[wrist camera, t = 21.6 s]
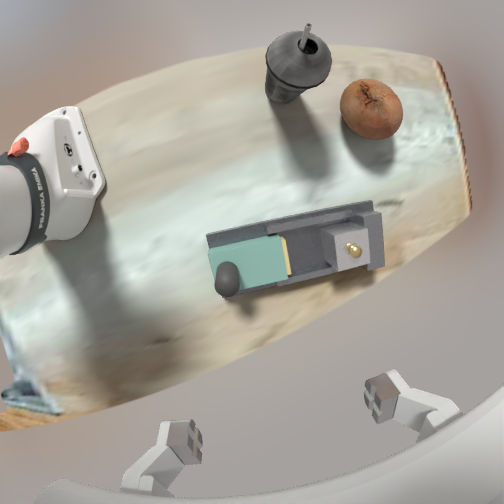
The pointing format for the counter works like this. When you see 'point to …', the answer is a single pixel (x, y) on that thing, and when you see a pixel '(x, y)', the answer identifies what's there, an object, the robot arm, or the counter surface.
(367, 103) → the onion
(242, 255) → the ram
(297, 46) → the beverage cup
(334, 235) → the housing
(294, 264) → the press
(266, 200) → the counter surface
